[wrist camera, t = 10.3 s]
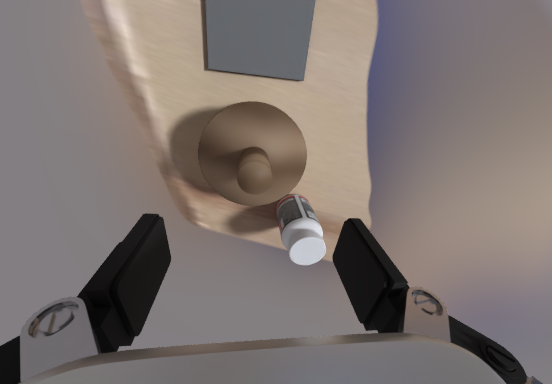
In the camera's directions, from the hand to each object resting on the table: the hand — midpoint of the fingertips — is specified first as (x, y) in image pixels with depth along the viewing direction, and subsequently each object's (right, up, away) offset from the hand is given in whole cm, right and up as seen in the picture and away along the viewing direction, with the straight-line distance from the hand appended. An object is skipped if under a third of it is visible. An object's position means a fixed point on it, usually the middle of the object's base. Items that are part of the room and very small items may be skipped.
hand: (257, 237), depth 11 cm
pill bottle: (+4, 0, +23) cm, 24 cm away
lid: (-2, +6, +13) cm, 15 cm away
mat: (-1, +21, +11) cm, 24 cm away
